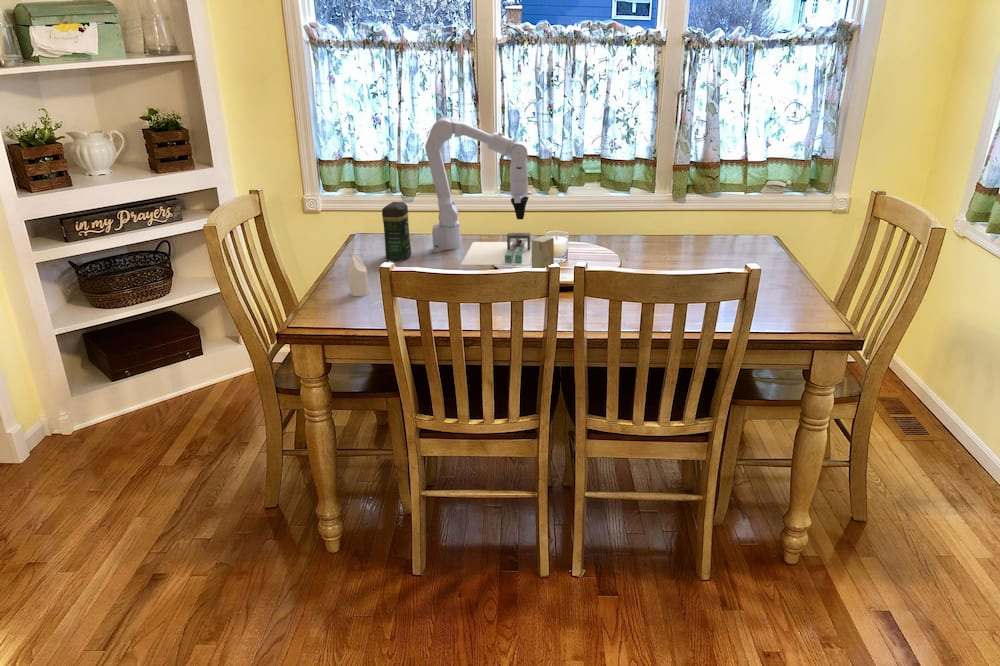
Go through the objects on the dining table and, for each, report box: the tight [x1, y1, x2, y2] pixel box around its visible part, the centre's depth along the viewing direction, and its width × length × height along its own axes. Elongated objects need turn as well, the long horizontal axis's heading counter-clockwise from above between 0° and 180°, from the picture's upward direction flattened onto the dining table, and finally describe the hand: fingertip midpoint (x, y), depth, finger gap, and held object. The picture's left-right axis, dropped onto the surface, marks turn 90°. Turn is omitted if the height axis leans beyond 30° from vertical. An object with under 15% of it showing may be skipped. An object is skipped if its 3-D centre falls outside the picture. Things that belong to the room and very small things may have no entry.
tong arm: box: [505, 240, 517, 262], centre depth 259 cm, size 16×2×2 cm, turn 171°
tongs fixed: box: [515, 238, 527, 262], centre depth 261 cm, size 20×4×2 cm, turn 173°
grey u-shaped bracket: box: [506, 232, 531, 250], centre depth 265 cm, size 3×8×5 cm, turn 83°
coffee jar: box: [381, 201, 412, 262], centre depth 262 cm, size 10×8×19 cm
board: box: [460, 241, 532, 266], centre depth 263 cm, size 22×25×1 cm
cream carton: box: [347, 254, 370, 297], centre depth 233 cm, size 6×12×6 cm
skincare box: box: [531, 235, 555, 269], centre depth 240 cm, size 6×4×12 cm
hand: (520, 218), depth 268 cm, fingers closed
